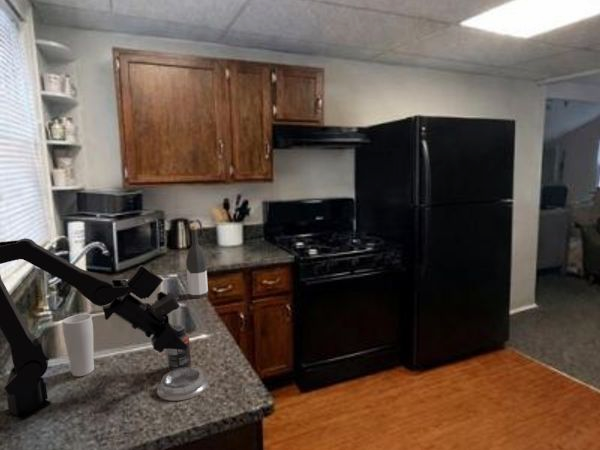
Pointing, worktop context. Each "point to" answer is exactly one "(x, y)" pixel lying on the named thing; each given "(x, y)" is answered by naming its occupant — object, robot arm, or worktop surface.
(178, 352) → the supplement bottle
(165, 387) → the faceted metal ring
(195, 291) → the wine bottle
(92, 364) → the drinking glass
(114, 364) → the worktop surface
